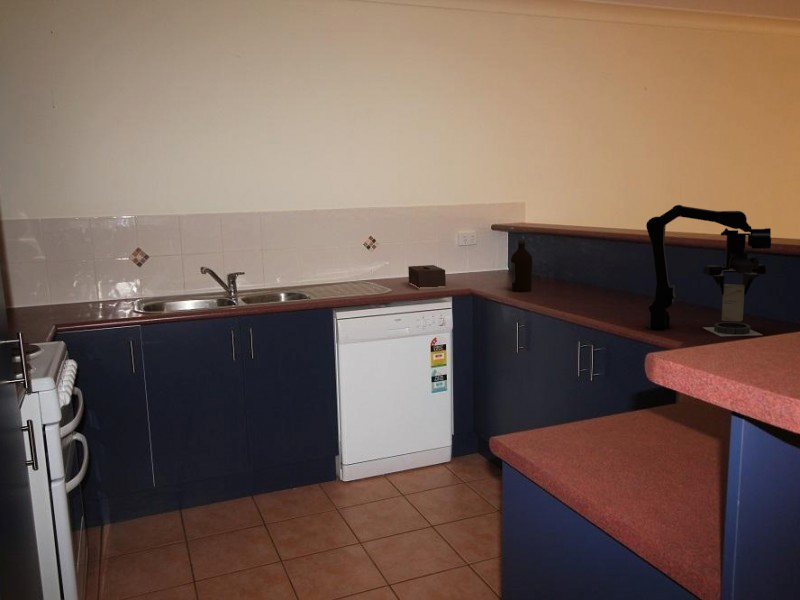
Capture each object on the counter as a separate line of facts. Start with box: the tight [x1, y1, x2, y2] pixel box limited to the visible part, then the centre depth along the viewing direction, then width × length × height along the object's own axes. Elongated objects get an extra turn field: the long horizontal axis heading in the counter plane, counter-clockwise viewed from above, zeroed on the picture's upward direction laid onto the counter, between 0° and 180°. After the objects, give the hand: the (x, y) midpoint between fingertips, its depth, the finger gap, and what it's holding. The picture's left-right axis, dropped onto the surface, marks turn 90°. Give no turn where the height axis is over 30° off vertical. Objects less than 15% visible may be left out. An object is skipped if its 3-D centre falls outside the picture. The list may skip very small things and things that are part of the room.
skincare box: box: [721, 283, 745, 323], centre depth 225 cm, size 6×4×12 cm
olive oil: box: [510, 240, 534, 293], centre depth 330 cm, size 11×11×25 cm
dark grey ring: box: [713, 321, 751, 335], centre depth 226 cm, size 11×11×2 cm
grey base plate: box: [703, 326, 763, 337], centre depth 226 cm, size 14×14×1 cm
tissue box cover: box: [408, 264, 447, 288], centre depth 359 cm, size 26×14×10 cm, turn 11°
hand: (733, 294), depth 224 cm, fingers closed on skincare box, 7 cm apart
